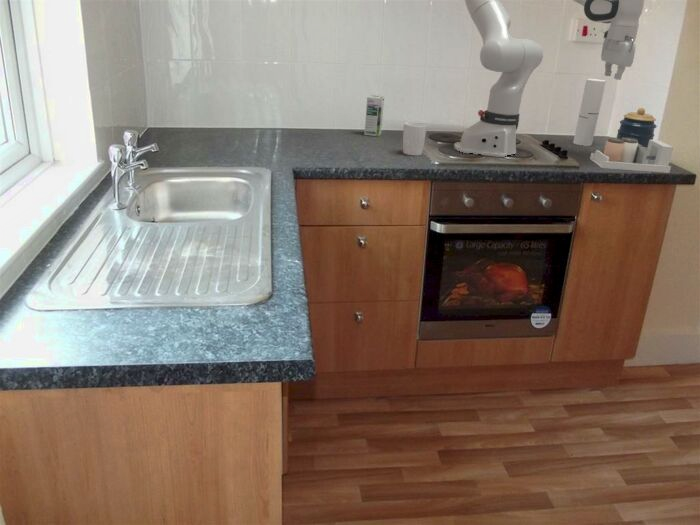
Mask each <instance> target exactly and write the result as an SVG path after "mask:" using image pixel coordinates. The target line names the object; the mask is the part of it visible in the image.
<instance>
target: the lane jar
mask: <svg viewBox="0 0 700 525" xmlns="http://www.w3.org/2000/svg"><path fill="white" fill-rule="evenodd" d="M622 139H624V143H625V145H624V149H623V153H622V157H621V162H623V163H634V159H635V155H636V151H637V147H638V139H635V138H630V137H622Z"/></svg>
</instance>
